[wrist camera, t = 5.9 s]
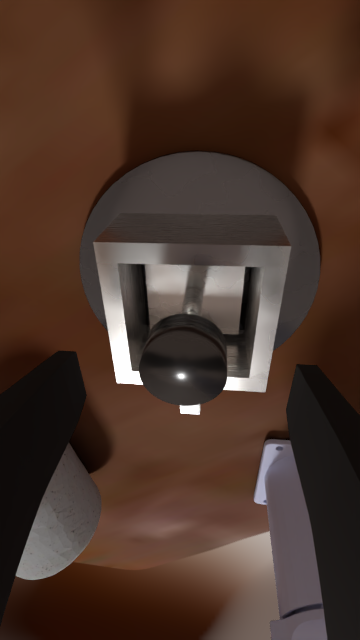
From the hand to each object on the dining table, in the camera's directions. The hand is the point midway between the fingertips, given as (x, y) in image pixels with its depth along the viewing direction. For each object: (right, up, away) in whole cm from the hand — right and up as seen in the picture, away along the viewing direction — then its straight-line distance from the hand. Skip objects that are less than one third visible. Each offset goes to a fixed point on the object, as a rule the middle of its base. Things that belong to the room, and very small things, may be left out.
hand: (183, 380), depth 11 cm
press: (+1, +4, +6) cm, 7 cm away
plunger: (+1, +4, +5) cm, 6 cm away
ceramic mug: (-12, -9, +17) cm, 22 cm away
